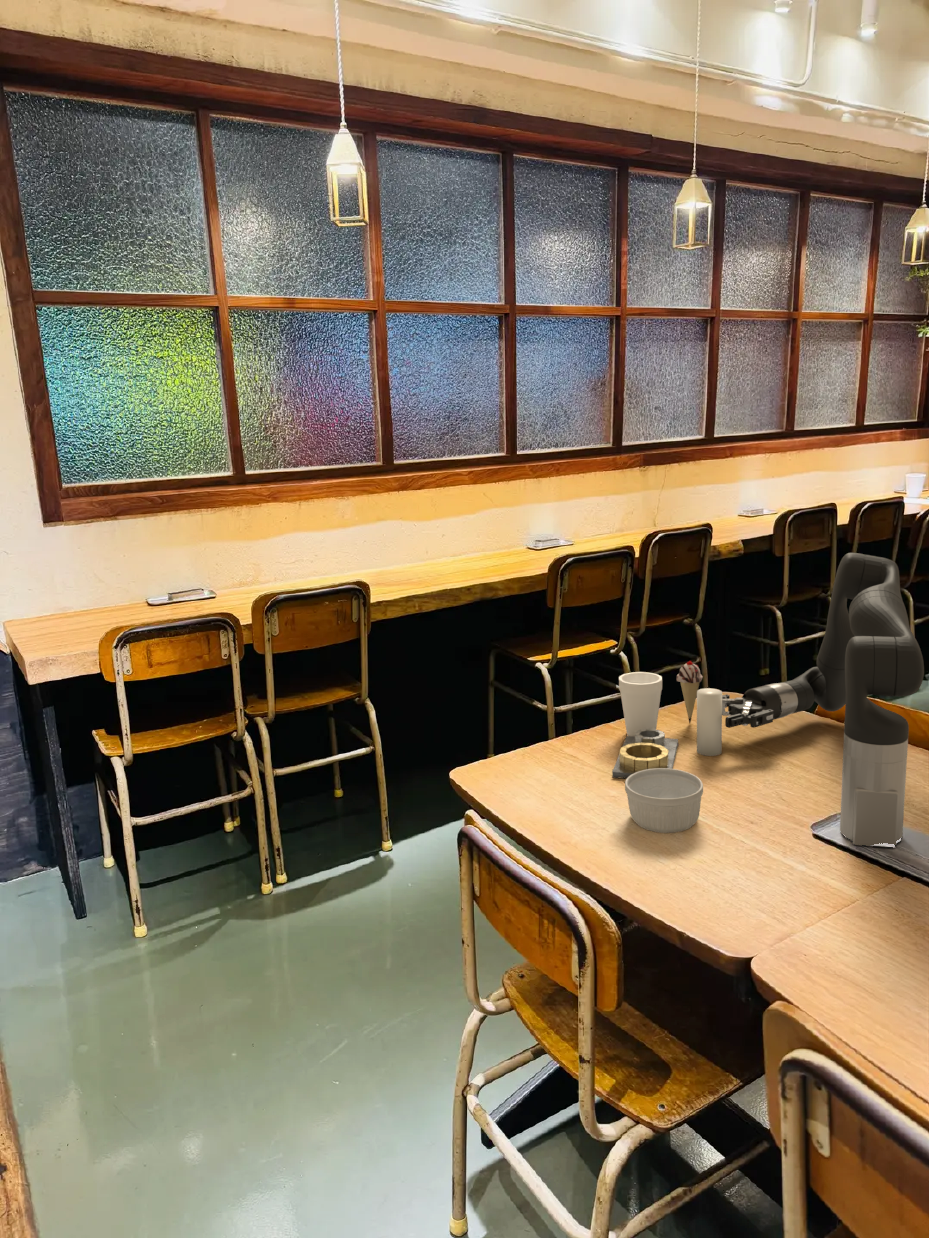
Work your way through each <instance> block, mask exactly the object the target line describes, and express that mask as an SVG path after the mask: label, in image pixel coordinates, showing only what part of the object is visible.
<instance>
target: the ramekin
mask: <svg viewBox="0 0 929 1238" xmlns="http://www.w3.org/2000/svg"><path fill="white" fill-rule="evenodd" d="M624 791H625V793H626V795H627V803H628V809H629V814H630V817H631V819H632V820H633V821H634V823H636V824H637V825H638V826H639V827H641V828H642V829H645V830H647V831H649V832H655V833H660V834H661V833H662V834H673V833H680V832H684V831H686V830H688V829H690V828H691V827H693V826H694V825H695V824H696V823H697V821H698V820H699V816H700V811H701V801H702V796H703V793H704V784H703V781H702V780H701V779H700V778H699V777H698V776H697V775H696V774H693V773H690V772H689V771H686V770H681V769H676V768H673V769H668V768H654V769H647V770H642V771H639V772H636V773H634V774H632V775H630V776H629V777H628V778H627V779H626V778H625V781H624Z"/></svg>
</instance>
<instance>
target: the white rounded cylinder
mask: <svg viewBox="0 0 929 1238" xmlns="http://www.w3.org/2000/svg"><path fill="white" fill-rule="evenodd" d="M722 695H723V691H722V690H720V689H717V688H710V687H708V688H707V687H706V688H705V687H704V688H700V689H698V691H697V696H696V752H697V754H699V755H702V756H708V757H715V756H719V755H721V754H722V747H723V744H722V743H723V741H722V740H723V737H722V736H723V735H722V734H723V715H722Z"/></svg>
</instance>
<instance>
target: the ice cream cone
mask: <svg viewBox="0 0 929 1238" xmlns="http://www.w3.org/2000/svg"><path fill="white" fill-rule="evenodd" d="M680 666H681V667H680V668H679V672H678V674H677V675H676V682H680V686H681V691H682V695H683V701H684V704H685V710H686V713H687V714H686V715H687V718H688V723H689V724H691V722H692V718H693V713H694V708H695V703H696V701H697V691H698V690H699V686H700V683H701V682H702V680H703V677H704V676H703V675H702V674H701V670H700V668H699V665H698V664H695V663H693V662H692V660H689V661H687V662H686V663H685V664H683V665H680Z"/></svg>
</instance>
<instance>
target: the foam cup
mask: <svg viewBox="0 0 929 1238" xmlns="http://www.w3.org/2000/svg"><path fill="white" fill-rule="evenodd" d="M618 690H619V691H620V697H621V704H622V710H623V717H624V725H625V731H626V736H635V732H636V731H638V730H642V729H656V730H657V726H658V725H657V724H658V720H659V719H658V718H659V712H660V711H659V710H660V702H661V695H662V690H663V676H662V675H659V674H658V673H653V672H646V671H635V672H634V671H633V672H629V673H628V672H627V673H623V674H621V675H619V676H618Z"/></svg>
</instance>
